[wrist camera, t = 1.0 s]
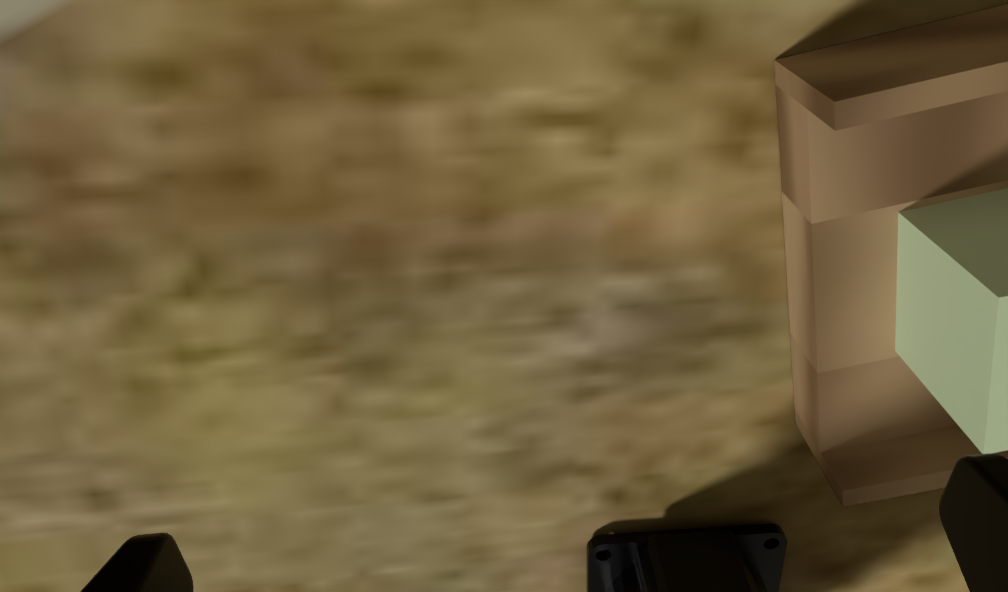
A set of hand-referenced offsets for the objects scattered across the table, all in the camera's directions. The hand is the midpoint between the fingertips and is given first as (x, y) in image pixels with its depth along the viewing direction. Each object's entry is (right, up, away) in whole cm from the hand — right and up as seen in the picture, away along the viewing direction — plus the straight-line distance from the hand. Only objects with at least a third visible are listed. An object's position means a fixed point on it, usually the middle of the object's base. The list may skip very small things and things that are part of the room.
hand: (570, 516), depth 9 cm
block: (+11, +3, +10) cm, 15 cm away
